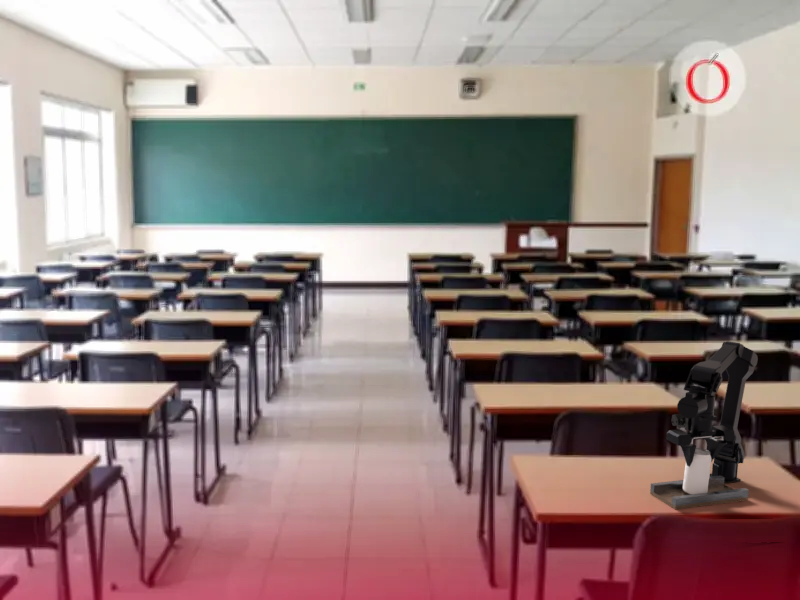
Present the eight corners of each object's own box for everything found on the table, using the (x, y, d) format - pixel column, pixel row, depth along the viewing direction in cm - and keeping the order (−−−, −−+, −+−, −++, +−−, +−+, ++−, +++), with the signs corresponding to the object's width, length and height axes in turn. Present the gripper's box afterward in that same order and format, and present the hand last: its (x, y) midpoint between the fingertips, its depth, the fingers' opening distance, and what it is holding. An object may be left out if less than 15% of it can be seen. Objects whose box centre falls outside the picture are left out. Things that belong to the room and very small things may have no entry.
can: (709, 498, 206) (714, 456, 205) (684, 494, 208) (689, 453, 206) (704, 488, 213) (709, 448, 211) (680, 485, 214) (685, 445, 212)
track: (720, 485, 219) (720, 475, 219) (747, 500, 209) (748, 489, 209) (650, 493, 212) (650, 483, 212) (675, 509, 202) (676, 498, 201)
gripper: (710, 400, 217) (706, 452, 219) (655, 405, 211) (652, 458, 214) (738, 411, 207) (733, 465, 209) (681, 416, 201) (677, 472, 203)
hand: (698, 464), depth 209 cm, fingers closed on can, 6 cm apart
